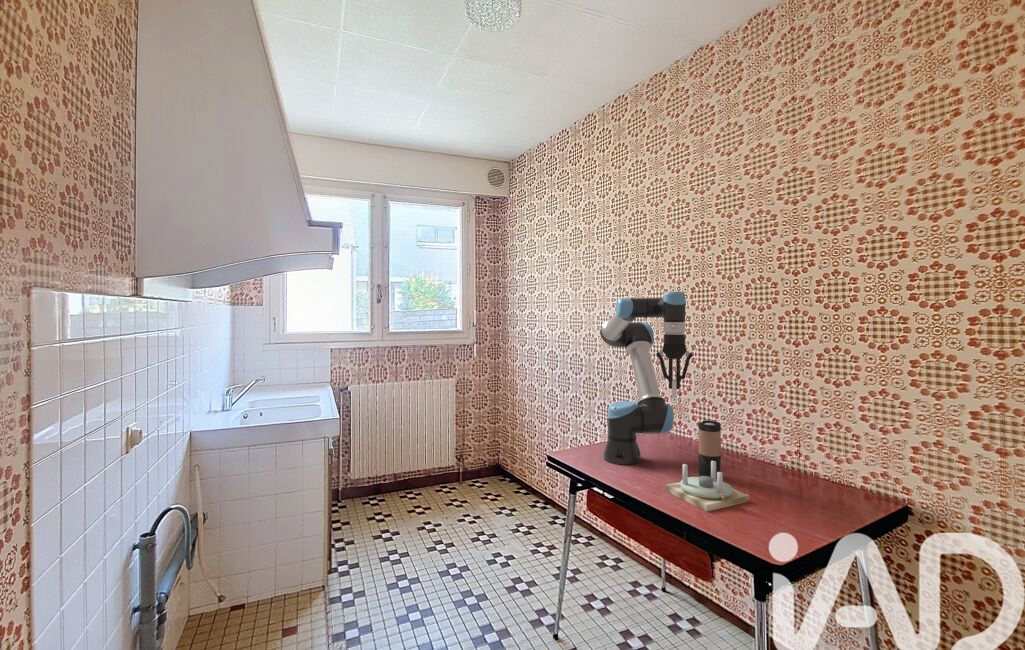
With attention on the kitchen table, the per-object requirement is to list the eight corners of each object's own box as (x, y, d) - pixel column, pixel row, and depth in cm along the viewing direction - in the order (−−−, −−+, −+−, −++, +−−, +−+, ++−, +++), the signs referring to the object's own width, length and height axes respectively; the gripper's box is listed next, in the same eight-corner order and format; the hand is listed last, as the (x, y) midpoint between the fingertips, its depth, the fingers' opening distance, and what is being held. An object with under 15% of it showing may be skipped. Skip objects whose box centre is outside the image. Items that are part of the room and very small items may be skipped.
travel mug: (723, 480, 165) (723, 425, 164) (700, 479, 166) (700, 424, 166) (718, 473, 172) (718, 420, 172) (696, 472, 174) (696, 420, 173)
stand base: (665, 490, 156) (665, 481, 156) (705, 482, 163) (705, 473, 163) (707, 511, 140) (707, 501, 139) (749, 501, 146) (749, 492, 146)
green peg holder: (701, 501, 142) (701, 477, 141) (670, 483, 157) (670, 461, 157) (744, 495, 146) (744, 471, 146) (709, 478, 161) (709, 456, 161)
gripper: (654, 334, 167) (655, 398, 168) (693, 334, 162) (693, 400, 163) (656, 333, 174) (656, 395, 174) (693, 333, 169) (693, 397, 170)
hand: (674, 397), depth 169 cm, fingers closed
